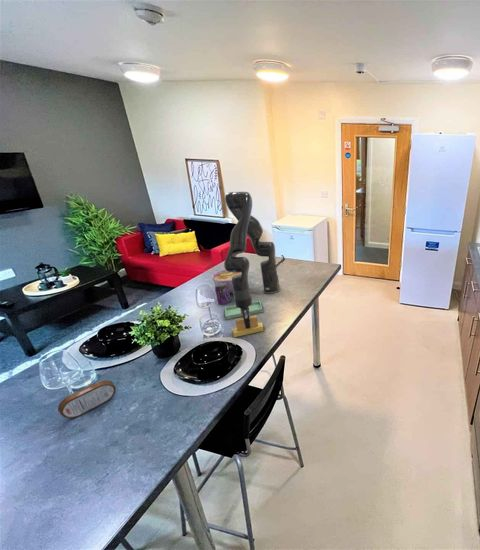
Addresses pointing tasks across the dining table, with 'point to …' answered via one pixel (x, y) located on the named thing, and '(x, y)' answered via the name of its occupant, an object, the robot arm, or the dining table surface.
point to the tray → (236, 312)
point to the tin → (86, 399)
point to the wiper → (242, 329)
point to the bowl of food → (225, 278)
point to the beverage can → (222, 292)
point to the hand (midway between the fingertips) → (247, 326)
